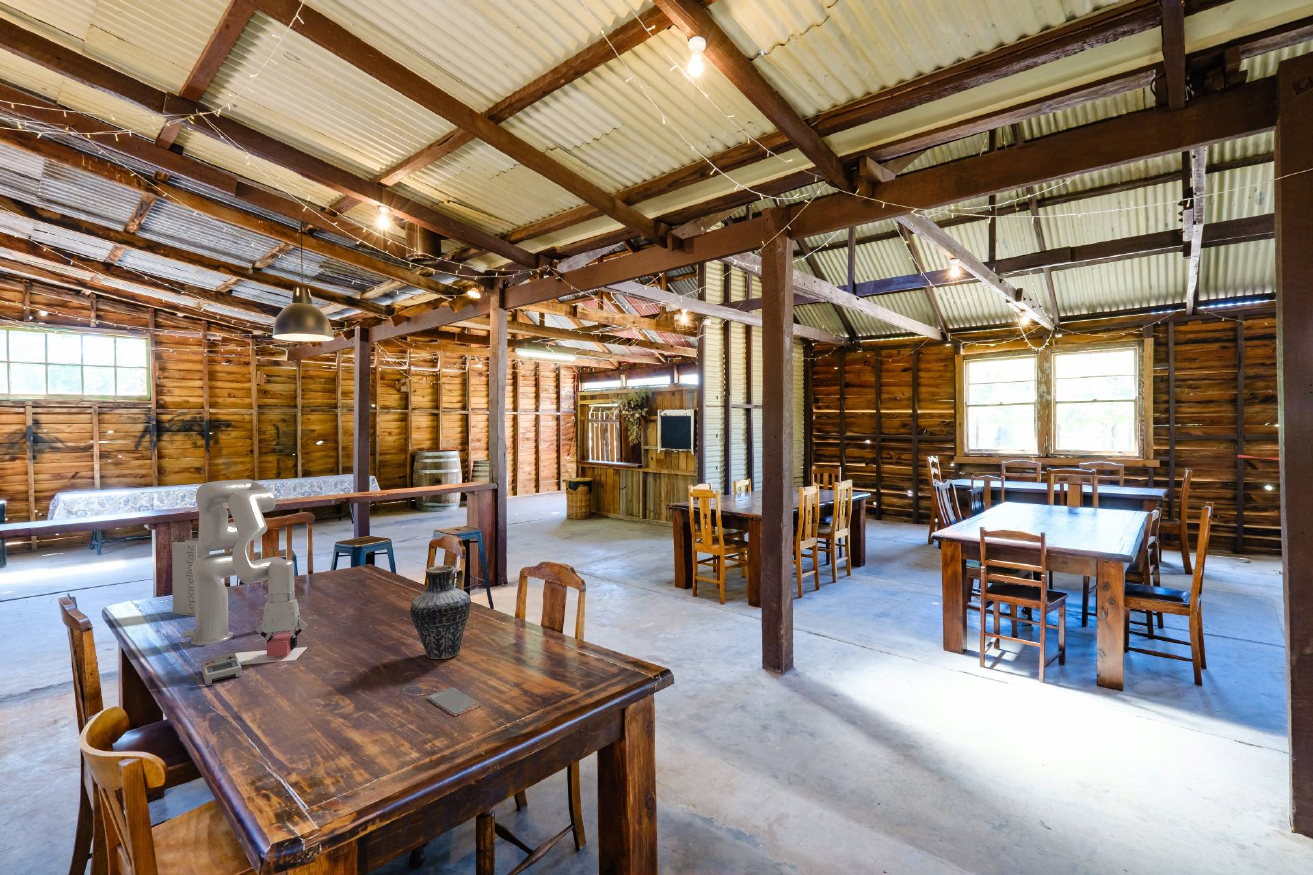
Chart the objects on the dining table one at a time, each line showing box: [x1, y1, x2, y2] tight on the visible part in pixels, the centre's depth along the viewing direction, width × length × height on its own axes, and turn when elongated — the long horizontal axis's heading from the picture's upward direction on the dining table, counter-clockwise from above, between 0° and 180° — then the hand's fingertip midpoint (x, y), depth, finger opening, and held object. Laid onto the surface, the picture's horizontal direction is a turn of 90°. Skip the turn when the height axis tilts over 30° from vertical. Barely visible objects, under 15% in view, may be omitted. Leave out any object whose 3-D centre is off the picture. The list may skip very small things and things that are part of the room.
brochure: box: [171, 540, 211, 617], centre depth 247 cm, size 14×6×30 cm, turn 73°
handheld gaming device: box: [200, 652, 243, 685], centre depth 183 cm, size 9×15×4 cm, turn 43°
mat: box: [235, 646, 308, 666], centre depth 197 cm, size 22×12×1 cm, turn 104°
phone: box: [427, 687, 475, 714], centre depth 164 cm, size 8×16×1 cm, turn 48°
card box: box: [266, 632, 292, 657], centre depth 198 cm, size 9×6×4 cm, turn 14°
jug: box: [409, 564, 472, 660], centre depth 199 cm, size 21×19×30 cm
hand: (282, 648), depth 198 cm, fingers closed on card box, 6 cm apart
